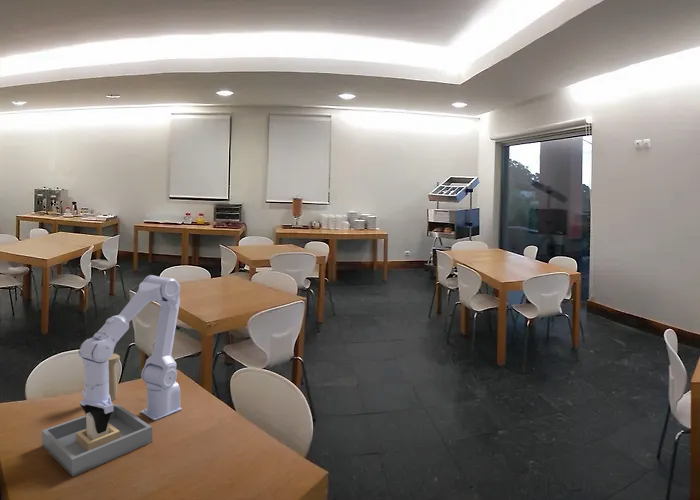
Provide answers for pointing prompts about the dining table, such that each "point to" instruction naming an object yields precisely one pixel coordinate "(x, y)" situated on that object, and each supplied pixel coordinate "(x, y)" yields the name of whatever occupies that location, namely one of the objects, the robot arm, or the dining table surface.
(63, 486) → the dining table surface
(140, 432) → the box
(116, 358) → the handle
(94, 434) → the plug
